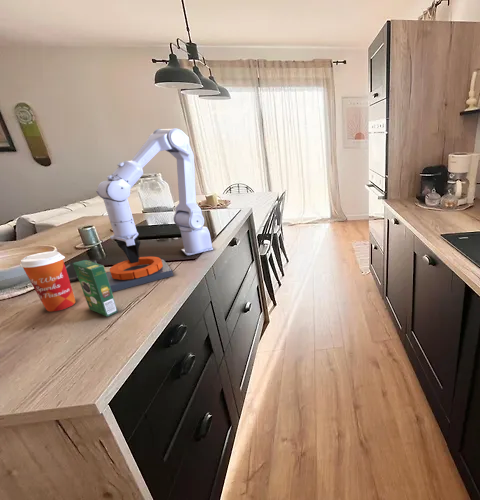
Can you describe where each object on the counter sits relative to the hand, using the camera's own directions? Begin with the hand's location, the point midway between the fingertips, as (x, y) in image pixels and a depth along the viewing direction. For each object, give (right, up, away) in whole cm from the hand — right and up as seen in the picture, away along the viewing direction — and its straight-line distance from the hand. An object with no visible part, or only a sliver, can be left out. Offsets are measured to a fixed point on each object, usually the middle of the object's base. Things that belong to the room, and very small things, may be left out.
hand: (134, 261), depth 93 cm
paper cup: (-5, -11, -18) cm, 22 cm away
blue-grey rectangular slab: (+4, -5, -2) cm, 7 cm away
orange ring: (+4, -3, -3) cm, 6 cm away
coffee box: (+8, -12, -20) cm, 25 cm away
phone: (-20, -4, +1) cm, 20 cm away
